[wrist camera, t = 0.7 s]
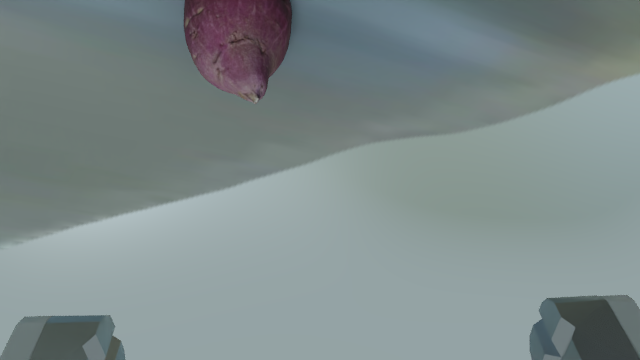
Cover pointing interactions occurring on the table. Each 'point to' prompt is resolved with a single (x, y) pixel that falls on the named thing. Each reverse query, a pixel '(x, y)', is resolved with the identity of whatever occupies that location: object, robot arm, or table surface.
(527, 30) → the table surface
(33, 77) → the table surface
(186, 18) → the vegetable
